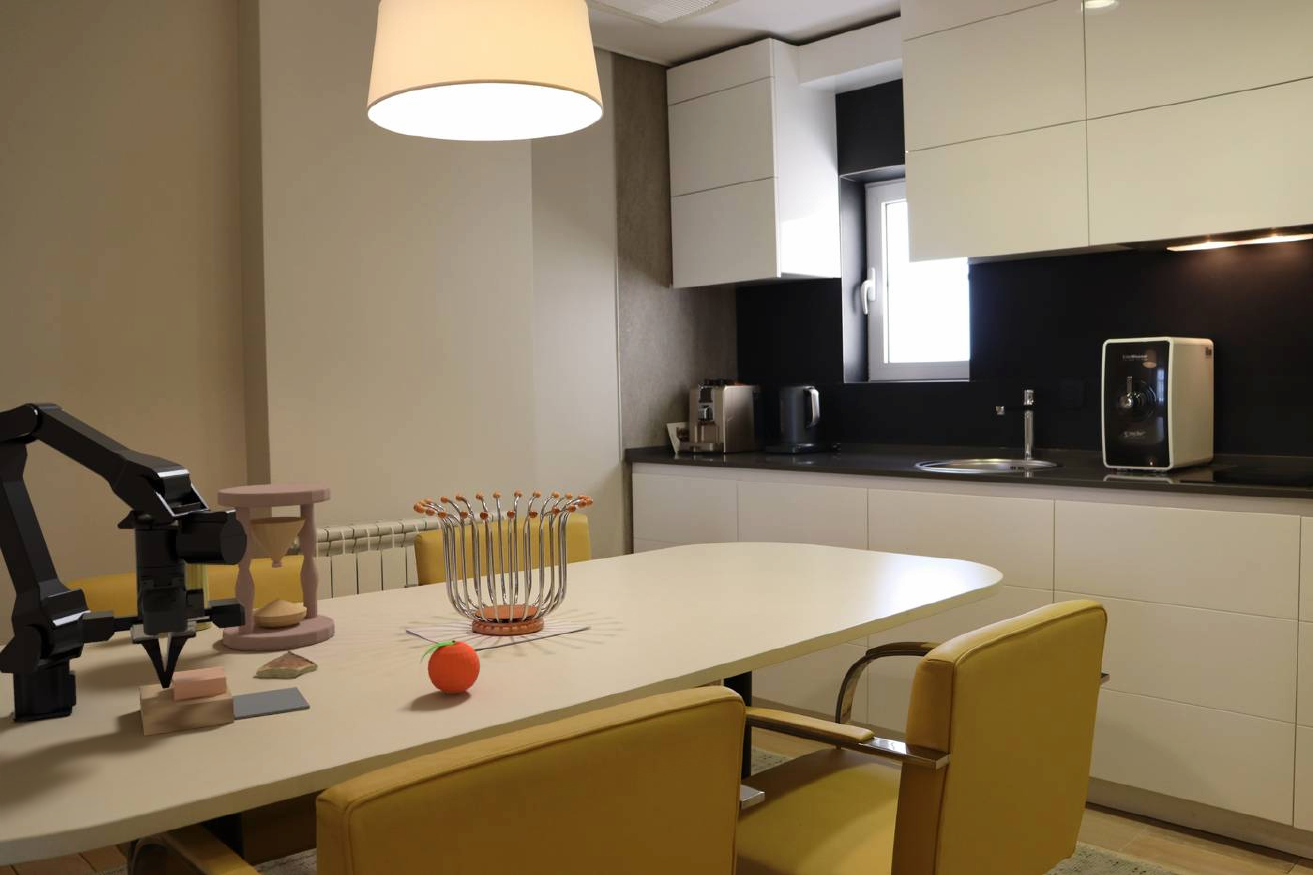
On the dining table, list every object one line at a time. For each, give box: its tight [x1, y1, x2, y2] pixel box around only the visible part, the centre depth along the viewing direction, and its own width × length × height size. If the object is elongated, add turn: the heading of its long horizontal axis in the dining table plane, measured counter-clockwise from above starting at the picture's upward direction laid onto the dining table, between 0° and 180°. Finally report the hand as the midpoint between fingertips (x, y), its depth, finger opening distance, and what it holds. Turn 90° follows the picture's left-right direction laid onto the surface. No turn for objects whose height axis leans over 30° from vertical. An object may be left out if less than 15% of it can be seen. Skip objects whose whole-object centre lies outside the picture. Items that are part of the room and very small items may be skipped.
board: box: [139, 681, 235, 737], centre depth 134 cm, size 10×12×3 cm
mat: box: [232, 686, 311, 720], centre depth 138 cm, size 9×10×1 cm
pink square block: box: [171, 665, 228, 700], centre depth 134 cm, size 6×6×2 cm
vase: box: [186, 563, 213, 632], centre depth 183 cm, size 6×6×14 cm
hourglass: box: [217, 482, 336, 652], centre depth 175 cm, size 18×18×25 cm
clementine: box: [419, 639, 481, 695], centre depth 142 cm, size 8×7×7 cm
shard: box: [256, 650, 318, 679], centre depth 156 cm, size 11×8×2 cm
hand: (165, 687), depth 132 cm, fingers closed
